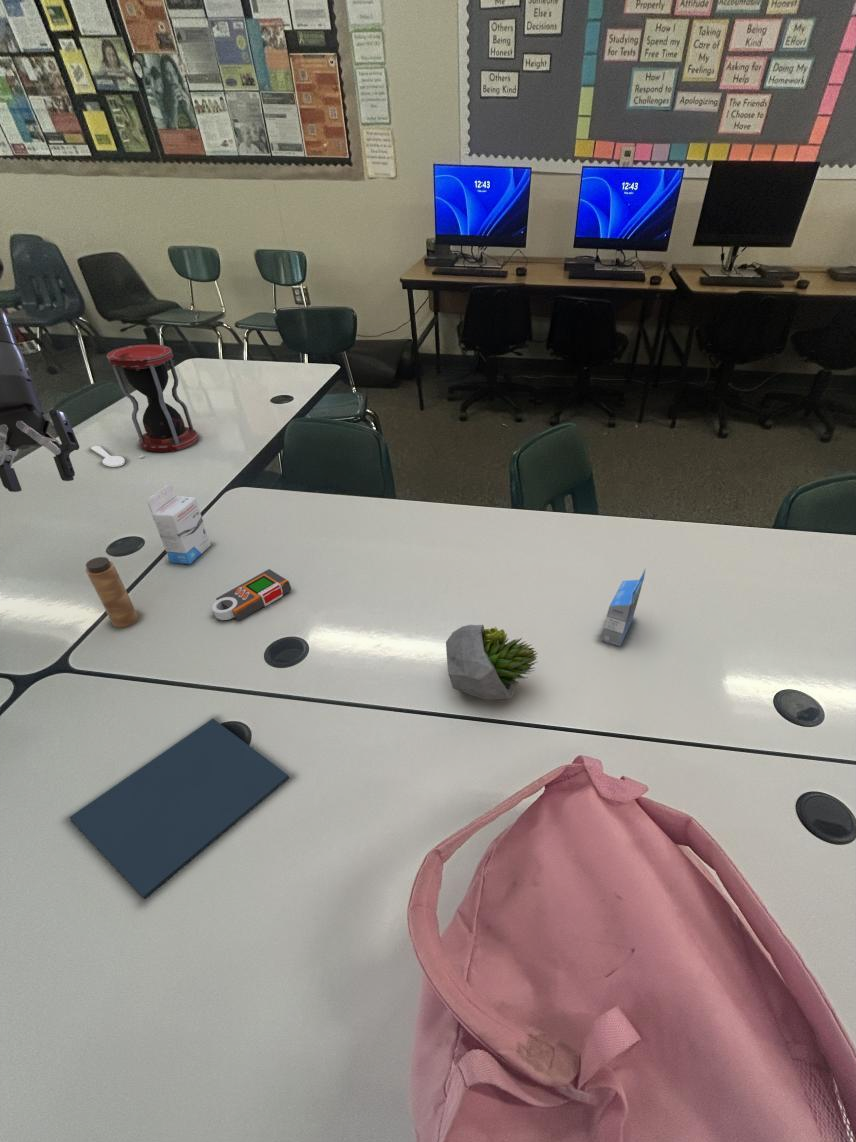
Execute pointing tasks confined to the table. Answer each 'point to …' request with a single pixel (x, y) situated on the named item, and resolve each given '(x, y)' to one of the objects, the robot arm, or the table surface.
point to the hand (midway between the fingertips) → (42, 485)
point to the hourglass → (153, 397)
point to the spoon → (108, 457)
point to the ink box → (179, 525)
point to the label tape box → (622, 611)
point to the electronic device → (251, 596)
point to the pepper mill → (111, 592)
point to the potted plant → (486, 662)
